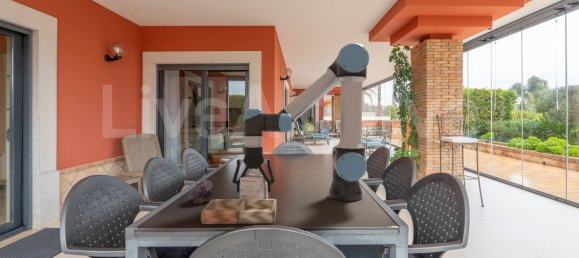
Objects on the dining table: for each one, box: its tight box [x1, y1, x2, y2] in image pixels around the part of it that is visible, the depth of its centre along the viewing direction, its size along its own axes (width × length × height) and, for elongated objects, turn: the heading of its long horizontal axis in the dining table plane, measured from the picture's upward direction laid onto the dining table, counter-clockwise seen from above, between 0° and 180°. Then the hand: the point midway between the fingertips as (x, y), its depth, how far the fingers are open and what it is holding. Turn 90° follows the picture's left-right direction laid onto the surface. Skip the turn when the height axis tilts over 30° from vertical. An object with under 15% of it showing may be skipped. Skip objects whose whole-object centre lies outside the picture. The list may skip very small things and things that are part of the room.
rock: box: [192, 179, 216, 205], centre depth 139 cm, size 12×9×10 cm
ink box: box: [239, 172, 267, 199], centre depth 134 cm, size 9×8×13 cm
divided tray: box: [200, 198, 277, 225], centre depth 118 cm, size 25×17×4 cm
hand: (253, 199), depth 134 cm, fingers closed on ink box, 10 cm apart
